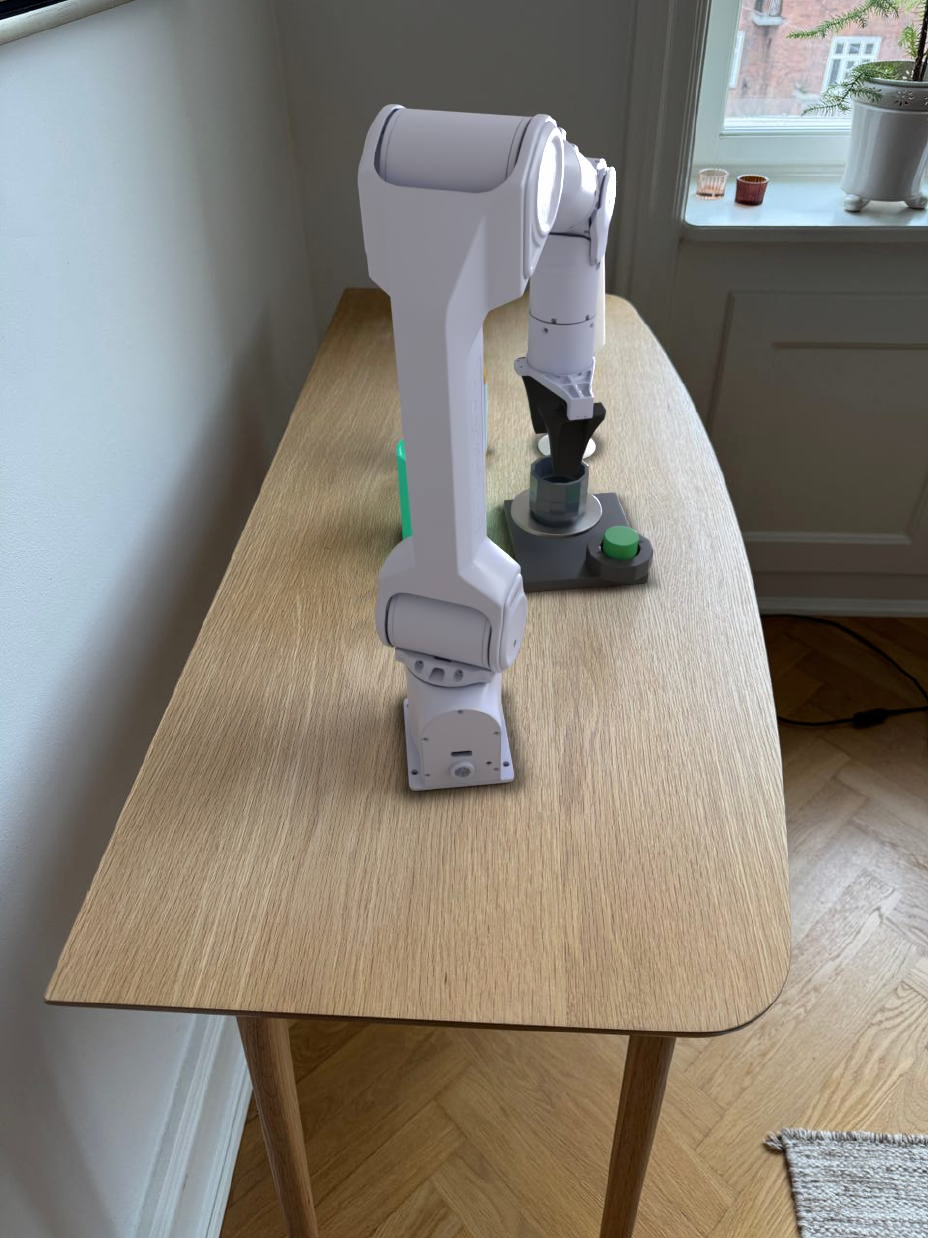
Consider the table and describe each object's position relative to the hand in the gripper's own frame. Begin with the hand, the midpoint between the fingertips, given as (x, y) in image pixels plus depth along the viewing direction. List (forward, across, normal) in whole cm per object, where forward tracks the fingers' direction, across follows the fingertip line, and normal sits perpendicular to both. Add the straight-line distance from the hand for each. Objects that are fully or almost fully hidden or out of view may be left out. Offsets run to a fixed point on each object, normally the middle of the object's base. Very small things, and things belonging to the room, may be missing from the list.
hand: (554, 451), depth 86 cm
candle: (+10, -3, -12) cm, 16 cm away
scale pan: (+7, 0, +1) cm, 7 cm away
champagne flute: (+10, -17, +6) cm, 21 cm away
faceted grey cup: (+7, 0, +1) cm, 7 cm away
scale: (+10, +1, +2) cm, 10 cm away
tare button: (+8, +7, +5) cm, 11 cm away
